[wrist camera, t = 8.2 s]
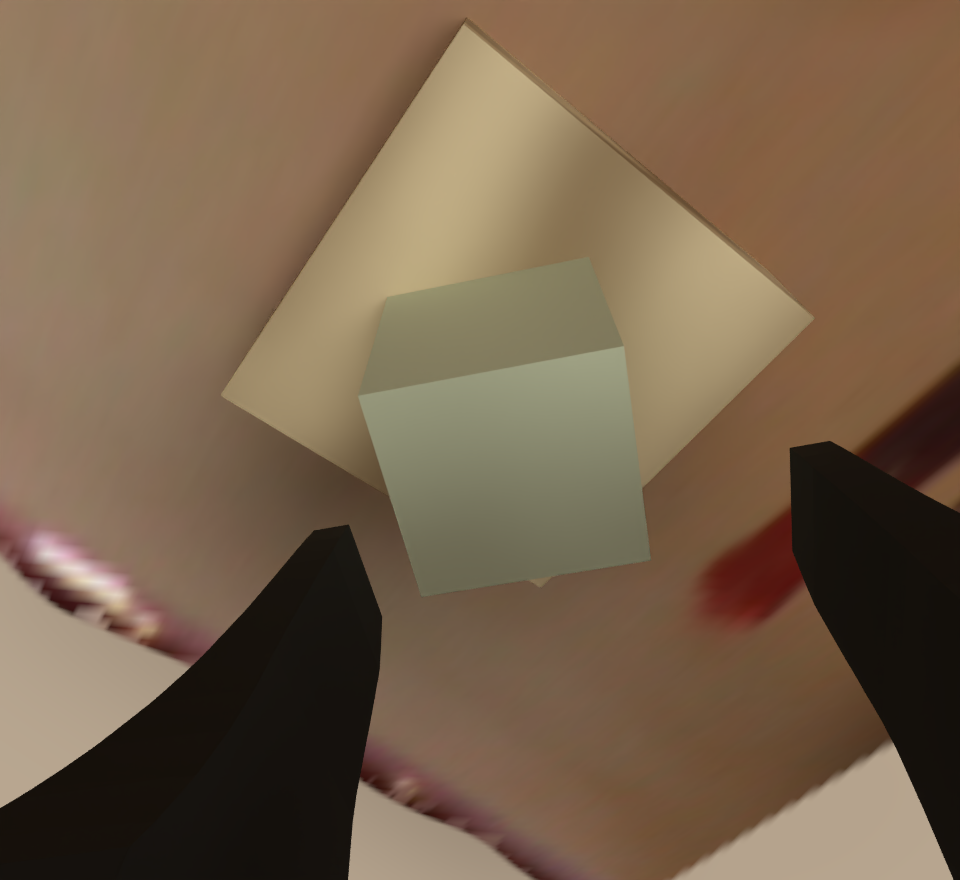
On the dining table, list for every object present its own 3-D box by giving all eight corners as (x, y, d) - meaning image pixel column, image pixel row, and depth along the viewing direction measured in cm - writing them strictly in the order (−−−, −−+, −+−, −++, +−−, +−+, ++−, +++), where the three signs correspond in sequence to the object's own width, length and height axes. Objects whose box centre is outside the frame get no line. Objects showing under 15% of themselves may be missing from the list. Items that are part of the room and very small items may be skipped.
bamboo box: (762, 264, 22) (815, 318, 18) (533, 506, 26) (540, 587, 22) (467, 16, 19) (463, 23, 15) (260, 333, 23) (220, 395, 19)
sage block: (589, 256, 18) (623, 346, 13) (613, 434, 20) (651, 560, 16) (387, 297, 18) (358, 395, 14) (434, 466, 20) (421, 597, 16)
